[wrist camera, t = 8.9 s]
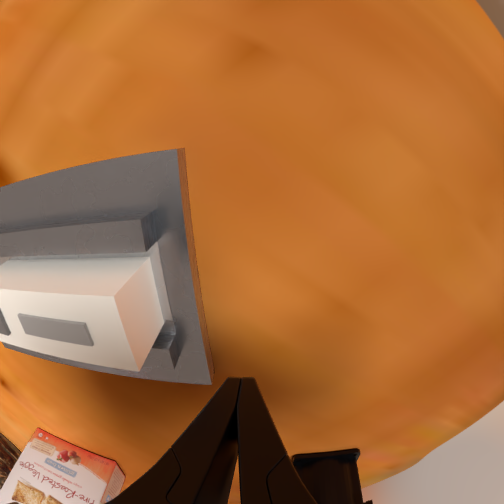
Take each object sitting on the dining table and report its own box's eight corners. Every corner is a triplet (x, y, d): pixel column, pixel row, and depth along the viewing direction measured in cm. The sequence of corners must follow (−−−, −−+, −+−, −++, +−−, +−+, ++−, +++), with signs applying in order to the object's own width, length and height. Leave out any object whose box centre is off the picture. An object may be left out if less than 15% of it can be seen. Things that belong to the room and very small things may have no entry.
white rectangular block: (149, 256, 14) (110, 300, 10) (164, 322, 15) (137, 376, 12) (8, 260, 15) (-32, 287, 11) (25, 309, 16) (-9, 341, 12)
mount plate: (184, 148, 13) (165, 150, 11) (214, 372, 18) (207, 402, 16) (-35, 199, 15) (-56, 209, 12) (11, 340, 20) (-4, 355, 17)
